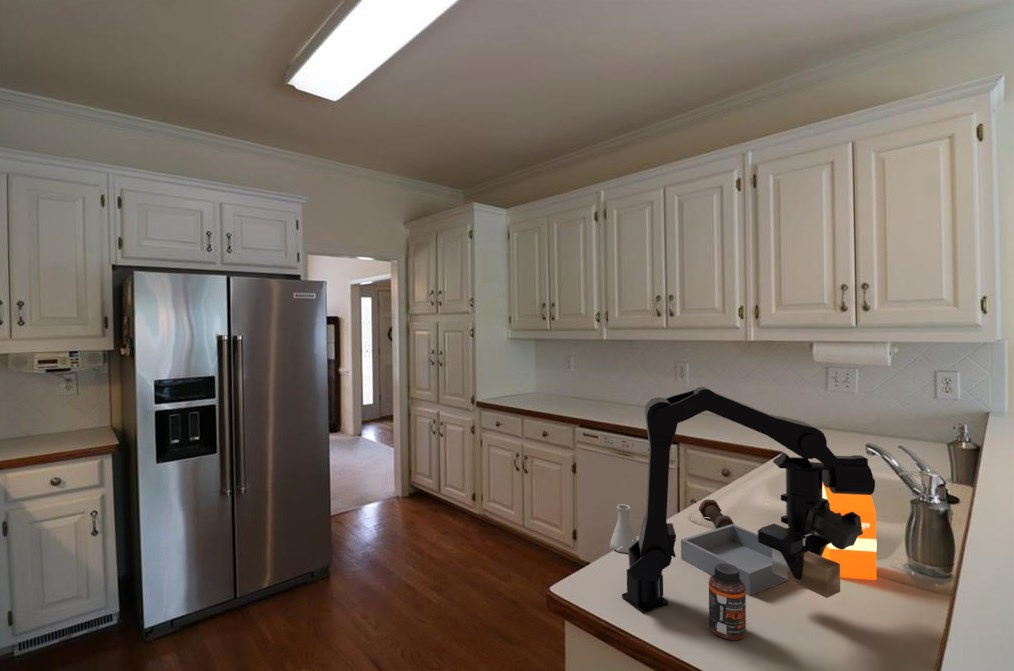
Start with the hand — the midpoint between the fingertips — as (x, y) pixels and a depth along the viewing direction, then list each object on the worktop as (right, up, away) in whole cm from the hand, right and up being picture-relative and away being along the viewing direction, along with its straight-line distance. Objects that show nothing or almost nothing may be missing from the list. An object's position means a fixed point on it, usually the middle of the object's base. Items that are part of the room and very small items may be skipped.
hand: (804, 576), depth 89 cm
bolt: (+1, -7, +39) cm, 40 cm away
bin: (-3, -7, +19) cm, 20 cm away
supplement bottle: (-16, -8, -4) cm, 18 cm away
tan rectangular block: (0, -1, 0) cm, 1 cm away
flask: (-26, -8, +29) cm, 40 cm away
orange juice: (+19, -7, +16) cm, 26 cm away
